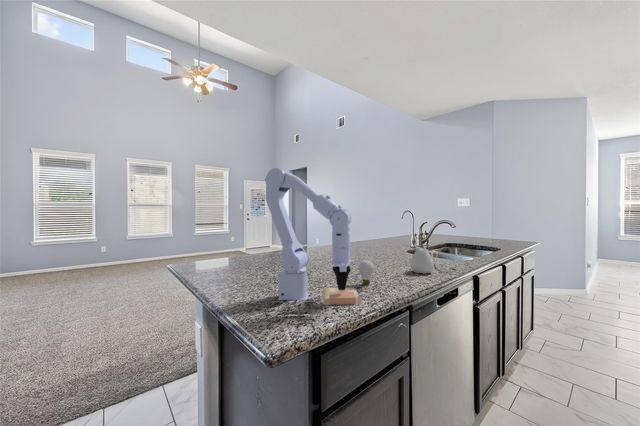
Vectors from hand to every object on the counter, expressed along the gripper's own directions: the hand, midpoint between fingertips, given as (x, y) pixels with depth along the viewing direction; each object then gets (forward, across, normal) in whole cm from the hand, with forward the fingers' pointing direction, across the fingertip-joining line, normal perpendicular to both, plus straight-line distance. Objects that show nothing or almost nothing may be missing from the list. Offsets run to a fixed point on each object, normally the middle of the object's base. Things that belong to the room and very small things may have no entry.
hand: (341, 289), depth 86 cm
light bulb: (+4, +18, -11) cm, 22 cm away
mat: (+4, +5, 0) cm, 6 cm away
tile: (+2, +2, 0) cm, 3 cm away
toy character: (+4, +40, -41) cm, 57 cm away
